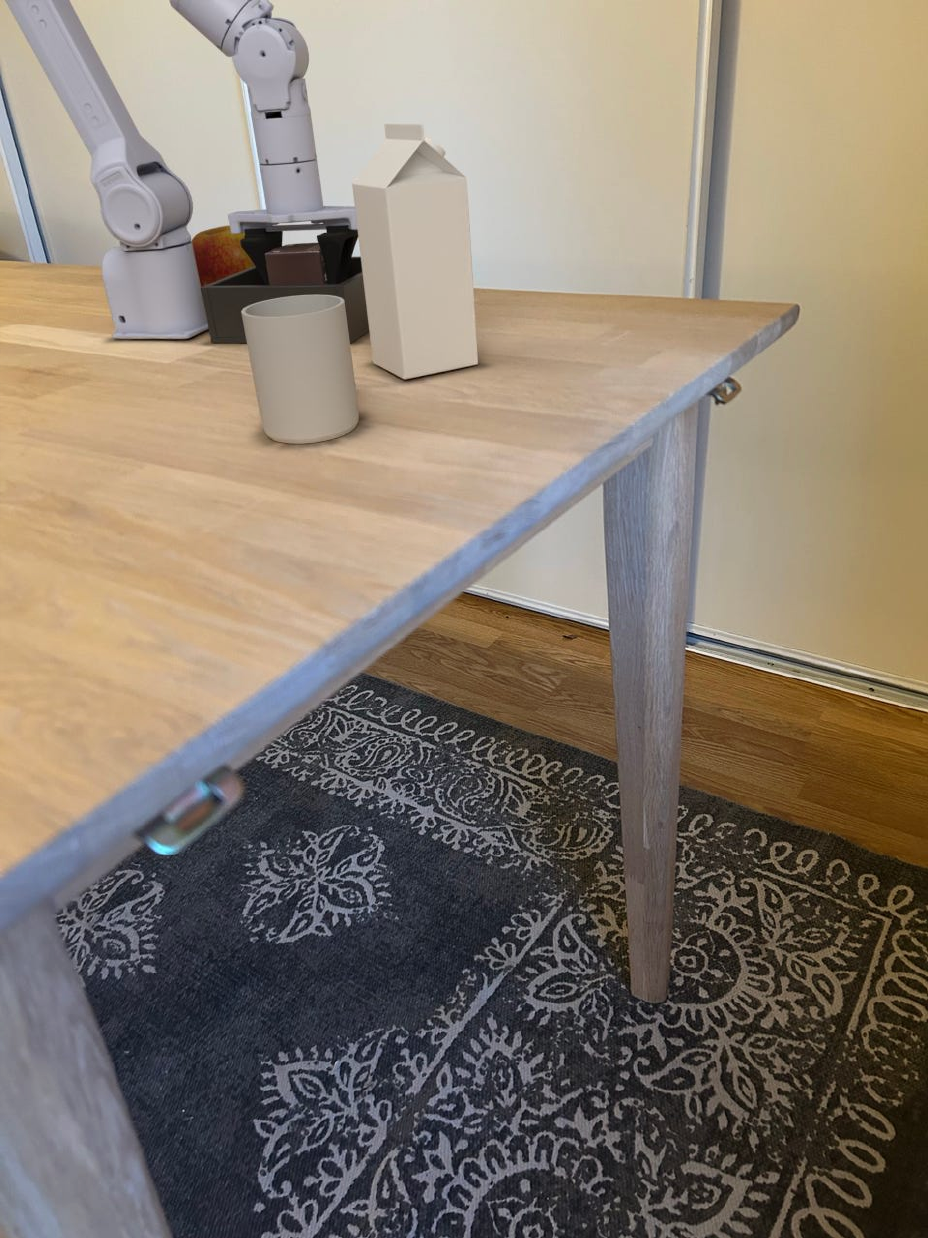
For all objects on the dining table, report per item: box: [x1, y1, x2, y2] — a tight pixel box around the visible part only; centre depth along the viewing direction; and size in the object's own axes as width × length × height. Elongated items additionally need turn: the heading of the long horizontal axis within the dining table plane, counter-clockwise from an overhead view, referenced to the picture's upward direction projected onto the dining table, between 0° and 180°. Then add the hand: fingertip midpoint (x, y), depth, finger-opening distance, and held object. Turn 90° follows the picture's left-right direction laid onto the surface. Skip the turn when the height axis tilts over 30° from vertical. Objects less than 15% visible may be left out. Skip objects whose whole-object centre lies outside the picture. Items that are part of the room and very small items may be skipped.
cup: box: [241, 295, 360, 445], centre depth 70 cm, size 7×10×9 cm
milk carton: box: [351, 123, 479, 380], centre depth 79 cm, size 7×7×19 cm
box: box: [265, 242, 328, 285], centre depth 99 cm, size 6×6×7 cm
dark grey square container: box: [200, 255, 370, 345], centre depth 100 cm, size 16×16×6 cm
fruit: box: [191, 224, 255, 287], centre depth 116 cm, size 10×9×8 cm
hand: (309, 303), depth 100 cm, fingers closed on box, 6 cm apart
